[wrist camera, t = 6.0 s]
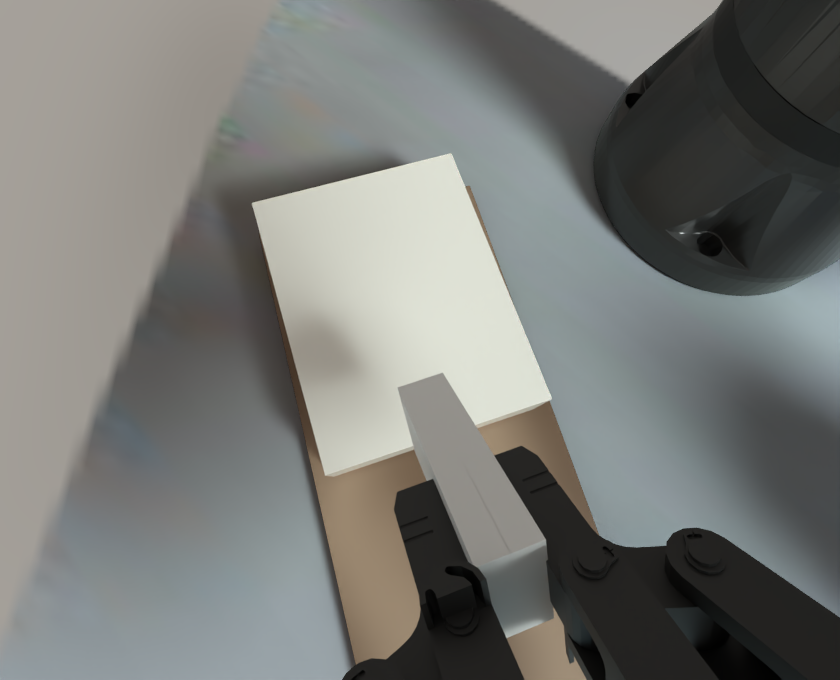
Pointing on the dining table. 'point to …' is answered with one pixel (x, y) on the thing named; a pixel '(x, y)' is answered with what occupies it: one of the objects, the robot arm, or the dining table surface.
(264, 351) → the dining table surface
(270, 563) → the dining table surface
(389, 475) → the walnut board
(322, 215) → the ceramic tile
